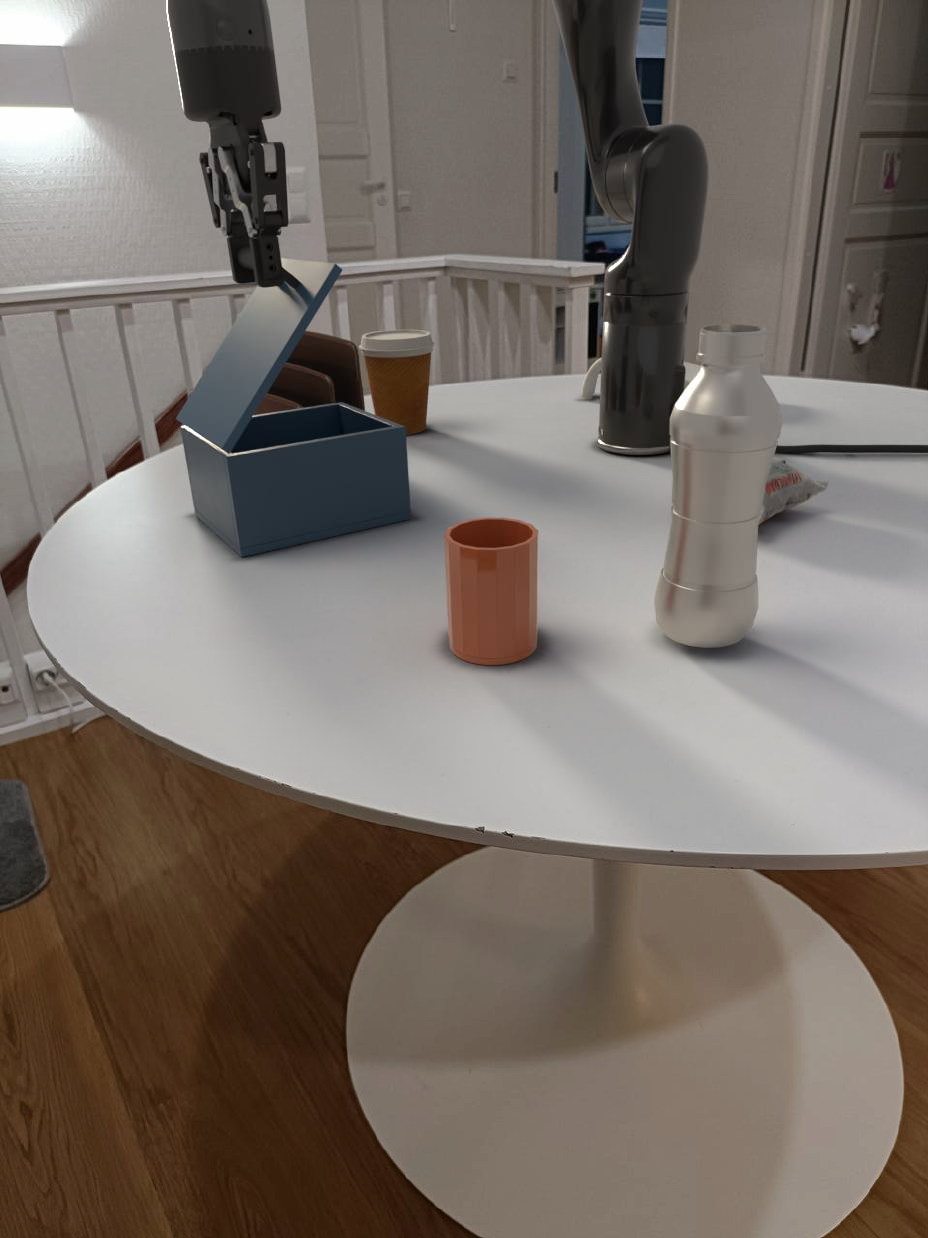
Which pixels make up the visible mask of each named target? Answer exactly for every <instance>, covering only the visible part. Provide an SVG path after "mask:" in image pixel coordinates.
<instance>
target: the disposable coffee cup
mask: <svg viewBox="0 0 928 1238" xmlns="http://www.w3.org/2000/svg"><path fill="white" fill-rule="evenodd" d="M435 344H436V343H435V342H434V341H433V338H432V335H431V331H427V330H421V329H387V330H379V331H378V330H377V331H372V332H371V331H370V332H367V333H364V334H362V335H361V341H360V344H359V345H358V350H360V353H361V355H362V357H363V361H364V365H365V370H366V375H367V381H368V385H369V392H370V397H371V401H372V407H373V410H374V411H373V412H374V415H376V416H379V417H382V418H384V419H387V420H389V421H392V422H394V423H397V424H400V425H403V426H405V427H406V436H407V435H408V436H409V435H415V434H419V433H422V432H424V431H425V430H426V429H427V419H428V405H429V390H430V377H431V376H430V375H431V364H432V363H431V362H432V352H433V350H434V347H435Z"/></svg>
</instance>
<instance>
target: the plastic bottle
mask: <svg viewBox="0 0 928 1238" xmlns="http://www.w3.org/2000/svg"><path fill="white" fill-rule="evenodd" d="M767 334H768V333H767V328H766V327H765V326H762V325H753V324H740V323H739V324H737V323H735V324H733V323H732V324H730V323H729V324H727V323H726V324H711V325H706V326H702V327H701V328H700V331H699V338H698V339H699V340H698V341H699V342H698V351H696V357H695V358H696V359H695V360H696V362H698V363H700V366H701V368H700V372H699V373H698V374H697V375H696V376H695V378H694V379H693V380H692V381H691V383H690V384H689V385H688V386H687V387H686V389H685V390H684V392H683V393H682V395H681V396H680V397H679V399H678V400H677V402H676V403H675V406H674V409H673V411H672V414H671V417H670V436H671V437H670V447H671V452H670V461H671V475H672V476H671V477H672V480H671V481H672V482H671V485H672V486H671V503H672V506H671V512H670V513H671V514H670V515H671V516H670V517H671V518H670V526H669V532H668V537H667V543H666V548H665V549H666V551H665V554H664V560H663V567H662V569H661V571H660V574H659V576H658V580H657V584H656V589H655V593H654V597H653V606H654V614H655V620H656V623H657V625H658V627H659V628H660V630H661V632H662V634H664V635H665V637H667V638H669V639H670V640H672V641H674V642H676V643H677V644H679V643H680V644H682V645H685V646H689V647H695V648H706V649H714V648H715V649H716V648H723V647H728V646H732V645H734V644H737V643H738V642H740V641H741V640H742V639H743V638H744V637H745V636H746V635H747V634H748V633H749V632H750V631H751V630H752V628H753V626H754V623H755V619H756V616H757V613H758V611H759V582H758V575H757V561H758V558H757V557H758V542H759V541H758V539H759V538H758V537H759V525H760V524H759V519H760V514H761V512H760V508H761V506H762V503H763V498H764V493H765V487H766V482H767V478H768V475H769V471H770V468H771V464H772V461H773V459H774V457H775V455H776V453H775V450H776V447H777V445H778V443H779V441H778V440H779V439H780V436H781V432H782V427H783V423H784V421H783V416H782V409H781V405H780V403H779V401H778V399H777V397H776V396H775V394H774V392H773V390H772V388H771V387H770V384H768V381H766V379H765V377H764V375H762V372H761V367H760V364H763V363H766V360H767V352H766V341H767Z"/></svg>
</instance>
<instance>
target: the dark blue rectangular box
mask: <svg viewBox="0 0 928 1238" xmlns="http://www.w3.org/2000/svg"><path fill="white" fill-rule="evenodd" d="M179 428H180V433H181V439H182V446H183V452H184V457H185V462H186V469H187V474H188V480H189V488H190V493H191V499H192V504H193V508H194V516H195V517H196V518H197V519H198V520H200V521H201V522H202V523H203V524H204V525H205V526H206V527H208V529H210V530H211V531H212V532H213V533H214V534H215V535H216V536H217V537H219V539H221V540H222V541H223V542H224V543H225V544H226V545H227V546H228V547H229V548H231V550H233V551H234V552H235V553H236V554H237V555H238V556H239V557H241V558H244V557H249V556H253V555H258V554H263V553H266V552H272V551H275V550H280V549H284V548H289V547H294V546H298V545H301V544H303V545H304V544H307V543H311V542H316V541H320V540H324V539H329V538H333V537H337V536H342V535H346V534H350V533H355V532H360V531H364V530H369V529H373V528H377V527H382V526H386V525H390V524H394V523H395V524H396V523H399V522H404V521H408V520H411V519H412V514H411V511H412V510H411V509H412V508H411V494H410V493H411V492H410V478H409V477H410V476H409V462H408V461H409V460H408V459H409V458H408V443H407V435H406V427H405V426H403V425H400V424H397V423H394V422H392V421H389V420H387V419H384V418H382V417H379V416H376V415H375V413H372V412H369V411H366V410H365V411H364V410H361V409H358V408H356V407H353V406H351V405H348V404H346V403H343V402H339V403H332V404H326V405H319V406H312V407H306V408H299V409H292V410H286V411H279V412H272V413H266V414H259V415H253V417H252V418H251V420H250V422H249V423H248V425H247V426H246V428H245V430H244V431H243V433H242V435H241V436H240V438H239V439H238V441H237V443H236V444H235V446H234V448H233V449H232V451H231V452H230V454H229V453H227V452H225V451H224V450H222V449H221V448H219V447H218V446H216V445H215V444H213V443H211V442H210V441H208V440H207V439H205V438H204V437H202V436H201V435H199V434H198V433H196V432H195V431H193V430H192V429H190V428H188V427H187V426H185V425H180V427H179Z"/></svg>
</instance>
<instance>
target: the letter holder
mask: <svg viewBox="0 0 928 1238" xmlns="http://www.w3.org/2000/svg"><path fill="white" fill-rule="evenodd" d="M193 390H194V388H193V389H191V390H190V391H188V394H187V399H188V398H189V396H190V395H191V393H192V391H193ZM364 394H365V393H364V388H363V381H362V371H361V363H360V353H359V348H358V346H357V345H356V343H355V342H353V341H351V340H349V339H345V338H341V337H339V336H335V335H331V334H327V333H322V332H316V331H309V330H305V332H304V334H303V335H302V337H301V339H300V340H299V342H298V343H297V345H296V347H295V348H294V350H293V352H292V353H291V355H290V356H289V358H288V360H287V361H286V363H285V365H284V366H283V368H282V369H281V371H280V373H279V374H278V376H277V378H276V379H275V381H274V382H273V384H272V386H271V387H270V389H269V391H268V392H267V394H266V395H265V397H264V399H263V400H262V402H261V404H260V405H259V407H258V409H257V410H256V412H255V413H254V415H259V414H266V413H272V412H279V411H286V410H292V409H299V408H306V407H312V406H319V405H326V404H332V403H339V402H343V403H346V404H348V405H351V406H353V407H356V408H358V409H361V410H364V411H366V404H365V395H364Z"/></svg>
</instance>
